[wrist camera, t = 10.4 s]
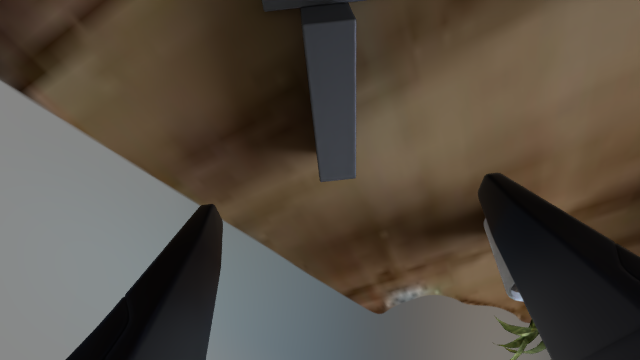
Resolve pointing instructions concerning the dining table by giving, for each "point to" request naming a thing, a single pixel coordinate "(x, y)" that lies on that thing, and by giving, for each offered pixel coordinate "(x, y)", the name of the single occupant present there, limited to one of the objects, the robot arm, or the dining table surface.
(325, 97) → the spatula
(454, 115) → the dining table surface
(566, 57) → the dining table surface
